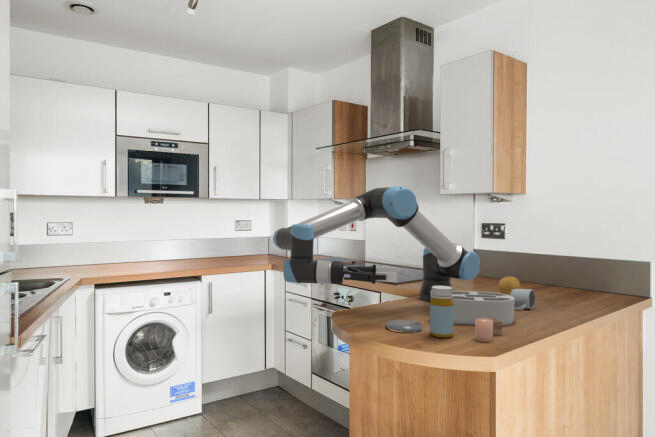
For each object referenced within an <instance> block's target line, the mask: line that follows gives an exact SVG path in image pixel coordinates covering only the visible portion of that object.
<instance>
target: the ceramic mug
mask: <svg viewBox="0 0 655 437" xmlns="http://www.w3.org/2000/svg"><path fill="white" fill-rule="evenodd" d="M510 296H513V297H514V298H515V304H514V311H522V310H524V309H528V310H533V309H534V308H535V305H536V302H537V300H536V297H537V296H536V293H535V290H534V289H528V288H527V289H526V288H521V289H513V290H511V292H510Z"/></svg>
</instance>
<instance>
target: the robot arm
mask: <svg viewBox="0 0 655 437" xmlns="http://www.w3.org/2000/svg"><path fill="white" fill-rule="evenodd" d="M416 196H417V195H416V194H415V193H414V192H413V191H412V190H411V189H410V188H408V187H405V186H398V185H394V186H387V187H376V188H373V189H370V190H368V191H365V192H363V193H360V194H359V195H357V196H354V197H353V198H350V201H349V202H346V203H345V204H342V205H340V206H337V207H335V208H332V209H330V210H328V211H326V212H323V213H320V214H317V215H315V216H313V217H310V218H308V219H306V220H302V221H301V222H298V223H295V224H292V225H290V226H289V227H288V226H287V227H281V228H278V229H277V230H276V231H274V233H273V237H272V241H273V243H274V245H275V246H276V247H277V248H279V249H280V250H283V251H284V250H285V251H289V252H290V259H286V260H285V261H284V263H283V271H282V273H283V279H284V281H286V282H287V283H295V284H320V286H324V284H325V285H326V284H327V285H328V284H332V285H342V284H343V282H344V280H345V281H347V280H348V281H357V282H366V283H372V284H373V285H375V284H376V282H378V283H379V282H383V283H384V282H386V283H398V272H396V271H397V270H396V266H394V267H393V266H377V265H376V264H372V265H367V266H364V265H363V266H354V265H353V266H351V265H350V266H347V267H345V268H344V262H343V261H342V260H341V261H340V260H332V261H330V260H321V259H320V260H314V239H317V238H319V237H322V236H324V235H326V234H328V233H332V232H333V231H335V230H337V229H340V228H342V227H344V226H347V225H349V224H351V223H355V222H356V221H358V222H363V221H365V220H368V219H376V218H377V219H387V220H388V221H389V222H391V224H392V225H394V226H395V227H396V228H403V229H405V231H407V232H408V233H409V234H410V235H411V236H412V237H413V238H414V239H415V240H417V241H418V243H420V244H421V245H422V246H423V247H424V248H423V253H422V254H423V255H422V283H421V286H420V288H419V292H418V298H419V297H420V298H421V299H422V301H425V302H430V301H431V295H430V290H432V286H449V287H452V291H454V289H453V285H452V283H451V279H455V280H461V281H467V282H468V281H472V280H473V279H475V278H476V277H477V276H478V274H479V272H480V268H481V260H480V257H479V255H478V254H477V253H476V252H474V251H467V250H466V249H465V248H464V247H463V246H462V245H461V244H459V243H458V242H452V241H451V240H450V239H449V238H448V237H447V236H446V235H444V233H443V232H442V231H441V230H439V229H438V227H437V226H435V225H434V224H433V223H432V222H431V220H429V219H428V218H427V217H426V216H425V214H422V212H421V211H419V210H420V208H419V204H418V201H417V197H416ZM421 299H420V300H421Z"/></svg>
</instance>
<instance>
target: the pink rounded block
mask: <svg viewBox="0 0 655 437" xmlns="http://www.w3.org/2000/svg"><path fill="white" fill-rule="evenodd" d="M493 337H494V336H493V320H492V319H488V318H476V319H475V325H474V340H475V341H477V342H481V343H492V342H493V341H494V338H493Z"/></svg>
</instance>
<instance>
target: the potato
mask: <svg viewBox="0 0 655 437" xmlns="http://www.w3.org/2000/svg"><path fill="white" fill-rule="evenodd" d="M497 287H498V291H499V293H501V294H506V295H510V292H511V290H513V289H522V285H521V282H520V280H519V279H518V278H517V277H514V276H505V277H503V278H501V279H500V280H499V282H498V284H497Z"/></svg>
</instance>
